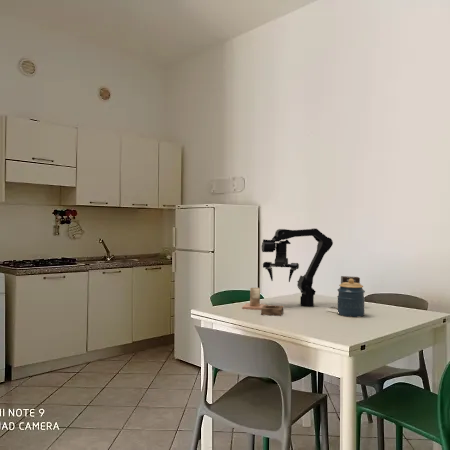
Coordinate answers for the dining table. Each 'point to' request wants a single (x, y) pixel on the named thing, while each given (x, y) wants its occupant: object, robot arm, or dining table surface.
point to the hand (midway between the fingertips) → (280, 281)
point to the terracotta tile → (247, 306)
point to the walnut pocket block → (272, 310)
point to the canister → (351, 299)
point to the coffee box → (346, 278)
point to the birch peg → (255, 297)
